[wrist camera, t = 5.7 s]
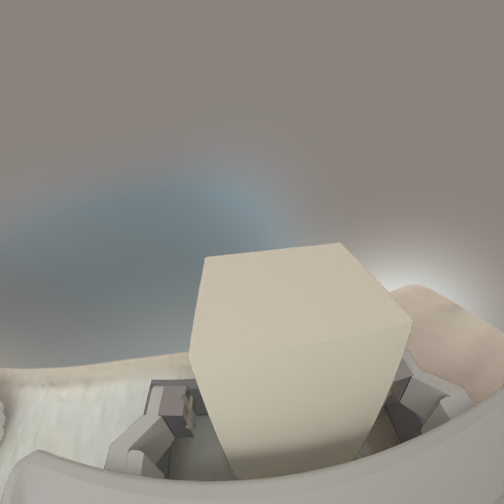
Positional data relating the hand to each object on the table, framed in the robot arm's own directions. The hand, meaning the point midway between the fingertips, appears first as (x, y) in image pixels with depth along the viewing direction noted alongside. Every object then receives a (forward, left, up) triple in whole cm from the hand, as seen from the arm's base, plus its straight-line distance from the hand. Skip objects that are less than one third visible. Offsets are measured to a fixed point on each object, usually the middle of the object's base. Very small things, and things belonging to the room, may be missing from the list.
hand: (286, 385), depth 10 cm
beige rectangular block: (0, -1, -7) cm, 7 cm away
